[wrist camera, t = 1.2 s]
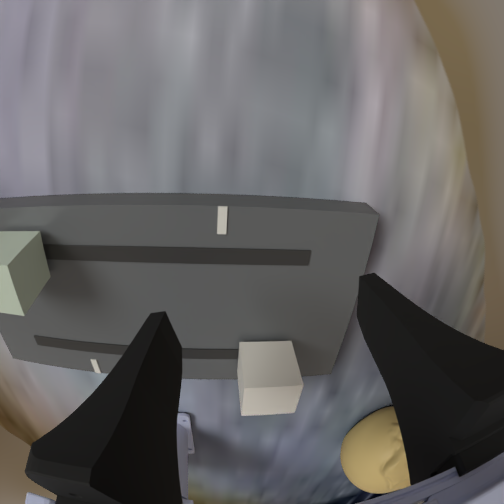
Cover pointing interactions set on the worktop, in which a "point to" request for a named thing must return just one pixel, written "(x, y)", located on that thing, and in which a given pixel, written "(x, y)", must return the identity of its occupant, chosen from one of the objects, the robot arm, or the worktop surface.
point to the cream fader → (268, 378)
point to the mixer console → (189, 276)
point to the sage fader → (21, 270)
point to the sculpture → (376, 454)
